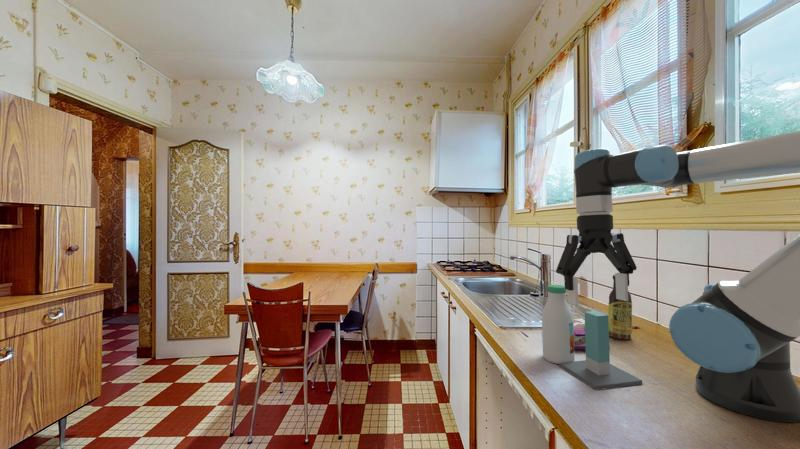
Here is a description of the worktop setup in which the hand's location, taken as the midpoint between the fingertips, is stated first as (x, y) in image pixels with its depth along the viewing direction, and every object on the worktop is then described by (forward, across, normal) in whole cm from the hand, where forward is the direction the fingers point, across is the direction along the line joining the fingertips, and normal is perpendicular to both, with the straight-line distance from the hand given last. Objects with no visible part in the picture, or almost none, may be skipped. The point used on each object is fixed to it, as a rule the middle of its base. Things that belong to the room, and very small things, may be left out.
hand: (598, 301), depth 76 cm
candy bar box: (+15, -8, -13) cm, 22 cm away
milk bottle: (+18, +4, -10) cm, 21 cm away
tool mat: (+18, 0, -1) cm, 18 cm away
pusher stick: (+17, 0, -1) cm, 17 cm away
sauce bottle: (+18, -26, -21) cm, 38 cm away
